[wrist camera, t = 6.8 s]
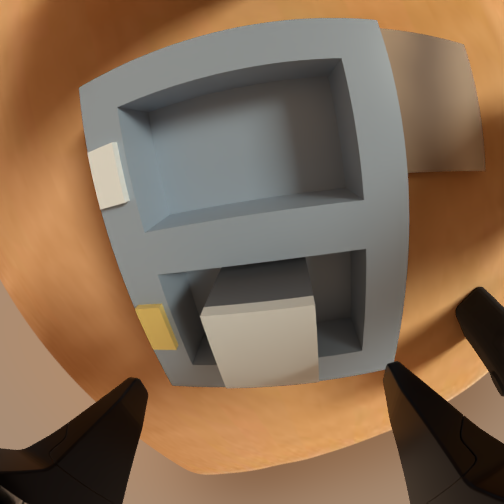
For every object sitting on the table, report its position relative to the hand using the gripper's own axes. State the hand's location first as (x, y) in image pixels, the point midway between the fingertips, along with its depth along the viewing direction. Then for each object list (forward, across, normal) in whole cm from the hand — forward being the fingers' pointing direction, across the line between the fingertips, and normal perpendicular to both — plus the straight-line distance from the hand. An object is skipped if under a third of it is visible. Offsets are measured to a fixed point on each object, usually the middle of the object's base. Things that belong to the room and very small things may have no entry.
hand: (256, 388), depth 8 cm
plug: (+7, 0, 0) cm, 7 cm away
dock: (+8, 0, -4) cm, 9 cm away
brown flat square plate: (+8, -11, -9) cm, 16 cm away
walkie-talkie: (+8, -16, +6) cm, 19 cm away
